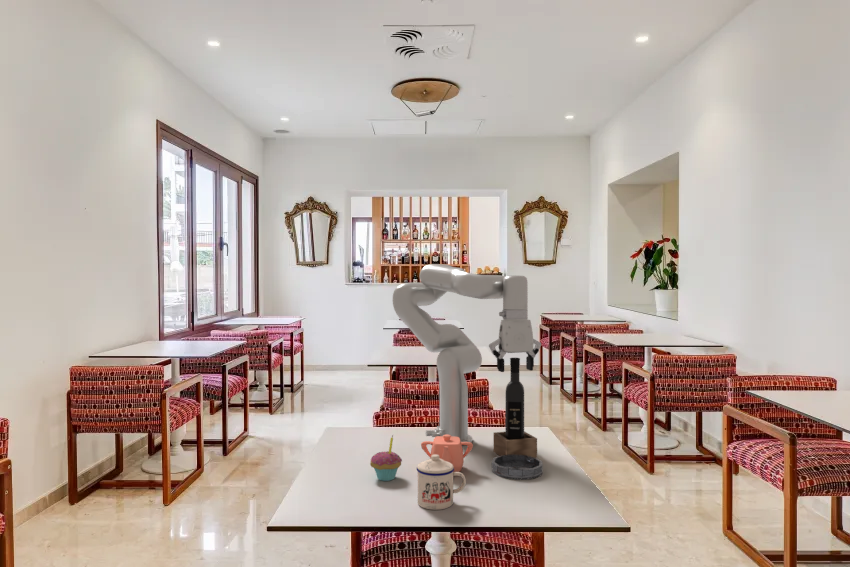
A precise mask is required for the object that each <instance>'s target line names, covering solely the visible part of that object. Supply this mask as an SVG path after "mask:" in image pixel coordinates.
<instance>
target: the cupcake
mask: <svg viewBox="0 0 850 567" xmlns="http://www.w3.org/2000/svg"><path fill="white" fill-rule="evenodd" d="M393 437H394V434H392V436H391V437H390V440H389V441H390V442H389V446H388V447H389V449H388V451H380V452H376V453H375V454H374V455H373V456H371V459H370V463H369V464H370V466H371V468H373V469H374V471H375V474H376V477H377V479H378V480H379V481H384V482H388V481H393V480H394V479H396V475H397V472H398V469H399V468H400V467H401V465H402V462H403V459H402V458H401V457H400V455H399V454H398V453H395V452H394V451H392V449H393V440H394V438H393Z"/></svg>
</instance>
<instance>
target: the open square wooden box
mask: <svg viewBox="0 0 850 567" xmlns="http://www.w3.org/2000/svg"><path fill="white" fill-rule="evenodd" d="M493 452H494V454H496V455H498V456H500V455H508V454H518V455H527V456H531V457H536V458H538V437H536V436H533V435H532V434H530V433H528V432H526V431H525V430H524V439H513V440H508V439H506V438H505V431H496V432H493Z"/></svg>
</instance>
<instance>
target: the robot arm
mask: <svg viewBox="0 0 850 567" xmlns="http://www.w3.org/2000/svg"><path fill="white" fill-rule="evenodd" d="M419 281H420V282H404V283H401V284H399V285H398V286H397V287H396V288H394V291H393V293H392V306H393V310H394V312H395V314H396V316H397V317H398V318H399V319H400V321H402V323H404V325H406V327H407V328H408V329H409V330H410V331H411V333H412V334H414V336H415V337H416V338H417V340H418V341H419V343H421V345H423V346H424V347H425V348H424V349H426V350H427V351H429V352H431V353H438V355H437V357H436V369H437V376H438V382H439V426H438V425H437V426H436V428H434V429H429V430H425V436H426V437H431V438H435V437H436V436H443V435H446V434H448V435H451V436H453V437H459V438H460V441H461V442H471V443H472V442H473V436H472V435H470V434H469V433H468V432H469V426H468V424H469V422H468V421H469V419H468V418H469V413H468V412H469V410H468V409H469V406H468V405H469V395H468V393H469V392H468V391H469V390H468V388H469V386H468V383H467V380H466V377H465V374H469V373H473V372H475V371H477V370H478V369H479V368H480V367H481V366H482V362H483V357H482V353H481V351H480V349H479V348H478V347H477V346H476V345H475V343H473V341H472V340H471V339H470V338H469V337H468V336H467V334H466V333H464V331H463V330H462V329H461V328H459V327H458V326H457V325H454V324H451V323H444V324H443V323H442V324H440V323H438V322H436V321H435V320H434V318H432V316H431V315H430V314H429V313H428V312H426V311H425V310H424V309H422V308H421V307H425V306H426V307H427V306H430V305H433V304H434V303H435V302H437V301H438V300H439V299H441V297H443V296H444V295H445V294H446V293H447V292H450V293H452V294H453V293H455V294H457V295H460V296H463V297H469V298H473V299H479V300H492V299H493V300H496V299H497V300H498V299H502V311H499V313H498V315H499V317H502V319H501V321H500V325H499V330H498V339H496V340H494V341H493V342H491V343H489V344H488V347H489V349H490V351H491V354H492V355H494V357H495V358H496V365H497V366H496V369H497V370H498V372H500V373H504V372H505V358H504V356H505V355H506V354H513V353H514V354H515V353H517V354H518V353H519V354H520V353H525V354H526V355H527V356H526V360H525V361H526V362H525V363H526V364H525V365H526V366H525V367H526V368H525V369H526V370H528V371H530V372H531V371H534V367H535V366H534V363H535V362H534V361H535V360H534V358H535V357H536V355H538V353H539V352H540V351H539V350H540V349H541V346H542V342H540V341H538V340H536V339H534V335H533V327H532V323H531V319H529V318H528V316H529V314H528V308H529V307H528V301H529V300H528V293H529V292H528V289H529V288H528V278H527V277H526V276H525V275H500V274H498V275H497V274H478V273H470V272H466V270H465V269H464V268H463V267H462V268H461V267H456V266H452V265H450V264H446V263H445V264H442V263H440V264H439V263H430V264H426V265H425V266H423V267H422V268H421V269H420V272H419ZM496 346H498V350H497V349H496V348H497V347H496Z"/></svg>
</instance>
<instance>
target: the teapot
mask: <svg viewBox="0 0 850 567" xmlns="http://www.w3.org/2000/svg"><path fill="white" fill-rule="evenodd" d="M428 445H431V450H430V451H429V449H428V447H427V446H428ZM420 446H421V449H422V450H423V452H424V453H425V454H426V455H427V457H429V459H431V456H432V455H434V454H436V455H439V458H440V459H443V460H444V461H447V462H450V463H451V464H452V465H453V467H454V471H453V472H461V471H462V469H463V466H464V462H465V461H464V459H465V457H467V456H468V454H470V452H471V451H472V450H473V447H474V444H473V443H472V442H461V441H460V438H459V437H453V436H451V435H448V434H446V435H443V436H436V437H433V441H431V440H425V441H422V442H421V444H420ZM463 446H467V448H466V449H465V452H464V450H463Z"/></svg>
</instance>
